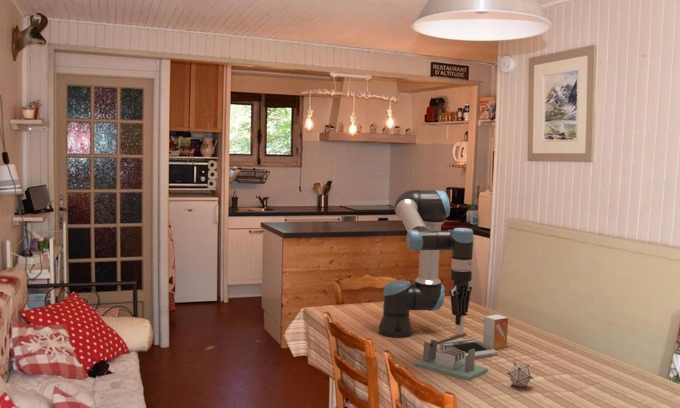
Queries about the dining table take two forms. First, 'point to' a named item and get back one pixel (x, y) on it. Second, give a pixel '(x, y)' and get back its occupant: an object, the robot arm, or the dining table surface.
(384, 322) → the robot arm
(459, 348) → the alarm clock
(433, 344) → the dark grey bar
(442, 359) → the heatsink
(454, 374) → the base board
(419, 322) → the dining table surface
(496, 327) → the small box
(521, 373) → the game die
